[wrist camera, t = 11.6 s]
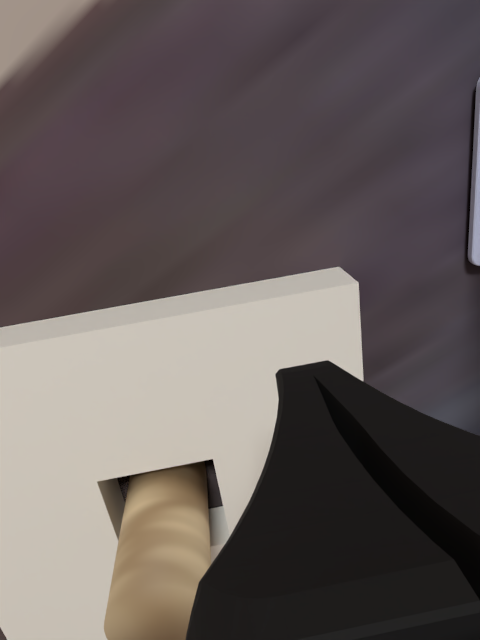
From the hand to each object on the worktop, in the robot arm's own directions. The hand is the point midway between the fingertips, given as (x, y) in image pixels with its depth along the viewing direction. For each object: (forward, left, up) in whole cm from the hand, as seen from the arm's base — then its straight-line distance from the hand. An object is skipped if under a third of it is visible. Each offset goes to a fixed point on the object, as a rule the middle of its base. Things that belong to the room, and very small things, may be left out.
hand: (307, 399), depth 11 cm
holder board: (+6, +10, -10) cm, 15 cm away
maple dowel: (+6, +10, -10) cm, 15 cm away
